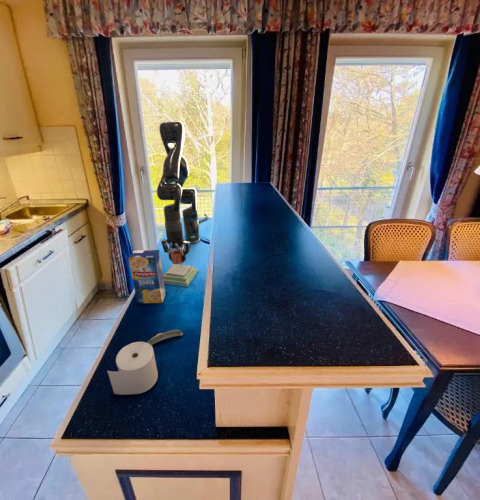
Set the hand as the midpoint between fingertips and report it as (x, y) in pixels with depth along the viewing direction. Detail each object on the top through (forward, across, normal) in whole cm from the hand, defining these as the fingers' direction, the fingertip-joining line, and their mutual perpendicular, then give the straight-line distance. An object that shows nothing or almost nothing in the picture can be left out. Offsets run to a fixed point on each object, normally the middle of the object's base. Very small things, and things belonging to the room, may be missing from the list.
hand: (177, 260), depth 134 cm
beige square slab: (+6, 0, 0) cm, 6 cm away
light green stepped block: (+9, 0, 0) cm, 9 cm away
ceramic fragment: (+10, -12, +41) cm, 44 cm away
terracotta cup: (0, 0, 0) cm, 0 cm away
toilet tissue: (+10, -12, +58) cm, 60 cm away
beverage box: (+10, +5, +19) cm, 22 cm away
